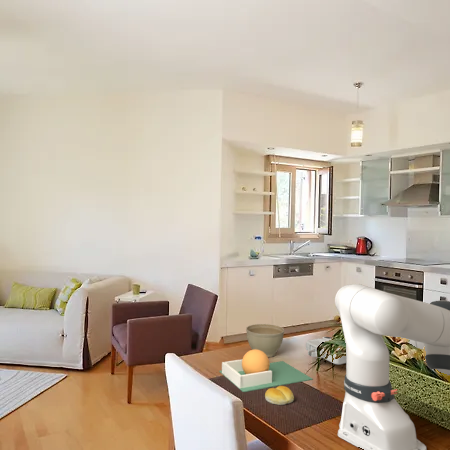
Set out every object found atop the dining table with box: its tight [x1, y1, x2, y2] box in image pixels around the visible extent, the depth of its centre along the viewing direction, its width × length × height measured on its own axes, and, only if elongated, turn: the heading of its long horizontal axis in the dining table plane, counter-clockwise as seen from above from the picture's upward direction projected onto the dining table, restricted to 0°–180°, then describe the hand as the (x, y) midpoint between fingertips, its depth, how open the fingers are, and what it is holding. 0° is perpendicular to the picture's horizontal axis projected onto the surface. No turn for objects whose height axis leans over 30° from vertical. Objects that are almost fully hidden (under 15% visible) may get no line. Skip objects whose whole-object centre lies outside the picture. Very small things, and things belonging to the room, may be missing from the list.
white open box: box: [221, 358, 272, 389], centre depth 146 cm, size 15×12×4 cm
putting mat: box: [218, 360, 314, 393], centre depth 150 cm, size 20×28×1 cm
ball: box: [242, 349, 271, 374], centre depth 147 cm, size 10×10×10 cm
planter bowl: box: [245, 323, 285, 358], centre depth 174 cm, size 16×16×11 cm
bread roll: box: [264, 385, 295, 406], centre depth 130 cm, size 8×9×4 cm
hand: (309, 353), depth 158 cm, fingers closed
